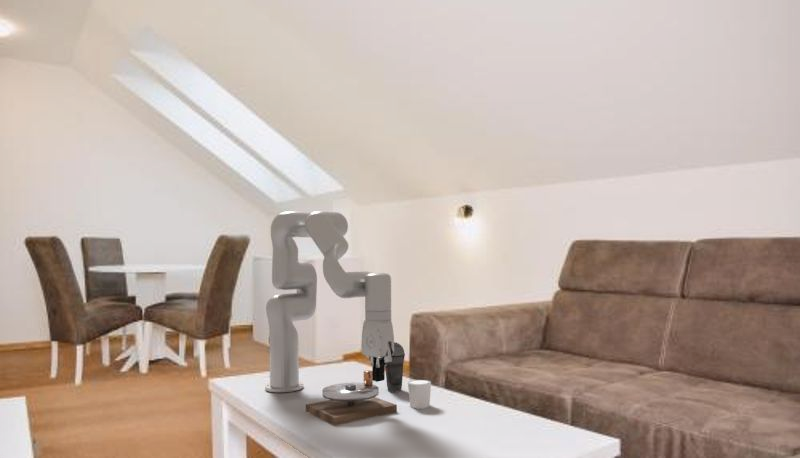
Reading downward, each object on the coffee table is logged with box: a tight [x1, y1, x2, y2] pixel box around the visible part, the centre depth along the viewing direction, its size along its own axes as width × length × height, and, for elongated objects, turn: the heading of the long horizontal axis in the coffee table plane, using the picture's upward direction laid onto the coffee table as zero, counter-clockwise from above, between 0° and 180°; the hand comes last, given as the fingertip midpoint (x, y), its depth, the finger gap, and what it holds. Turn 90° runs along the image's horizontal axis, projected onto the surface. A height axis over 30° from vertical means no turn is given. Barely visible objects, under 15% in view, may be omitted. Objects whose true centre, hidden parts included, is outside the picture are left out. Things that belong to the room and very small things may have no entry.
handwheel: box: [321, 370, 380, 401], centre depth 164 cm, size 16×16×5 cm
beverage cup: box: [385, 341, 406, 393], centre depth 189 cm, size 7×7×20 cm
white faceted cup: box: [407, 379, 432, 409], centre depth 169 cm, size 7×7×7 cm
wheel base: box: [305, 396, 398, 426], centre depth 164 cm, size 17×20×5 cm
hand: (378, 380), depth 165 cm, fingers closed
